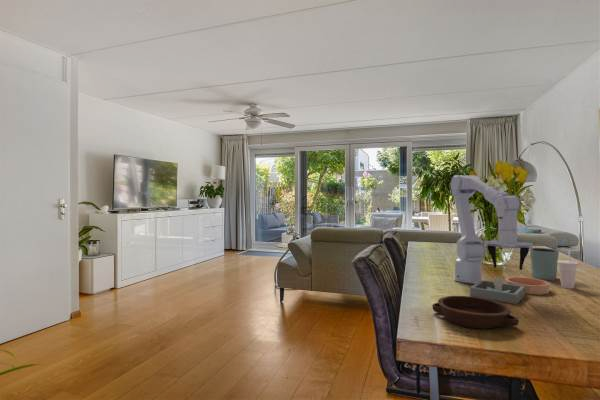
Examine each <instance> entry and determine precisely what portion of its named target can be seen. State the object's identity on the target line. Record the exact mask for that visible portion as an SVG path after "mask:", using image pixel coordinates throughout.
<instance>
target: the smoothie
mask: <svg viewBox="0 0 600 400" xmlns="http://www.w3.org/2000/svg"><path fill="white" fill-rule="evenodd" d="M567 251H568V252H567V254H568V255H567V256H568V257H567V258H568V259H567V260H558V261H557V268H558V273H559V277H560V279H559V280H560V284H561V288H563V287H564V289H568V290H570V289H571V290H573V289H574V288H575V283H576V276H577V271H578V270H577V269H578V266H579V263H578V262H576V261H572V260H571V250H567Z"/></svg>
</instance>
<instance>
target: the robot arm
mask: <svg viewBox="0 0 600 400" xmlns="http://www.w3.org/2000/svg"><path fill="white" fill-rule="evenodd" d="M449 185H450V190H451V195H452V197H453V198H454V204H455V205H454V206H455V209H456V214H457V219H458V224H459V229H460V234H461V237H460V238H459V239H458V240H457V241H456V254H457V256H458V257H459V258H456V260H455V264H454V282H461V283H468V284H472V285H475V284H476V283H478V282H479V281H481V280H484V279H482V261H483V260H484V258H485V257H486V255H487V251H488V253H489V254H490V257H491V260H492V263H493V268H495V269H496V268H497V248H505V249H506V248H509V249H519V267H518V268H519V270H520V271H521V270H523V267H524V262H525V259H526V257H527V256H528V254H529V253H530V249H533V248H534V245H533V243H532V242H523V241H522V242H521V241H518V212H519V211H520V210H521V208H522V200H521V198H520V197H519V196H518V195H517V194H513V195H510V194H509V192H507V191H503V190H501V189H500V187H499V186H498V185H494V186H489V185H488V184H487V183H486V182H484V181H483V180H481V177H480V176H478V175H476V174H472V175H461V174H460V175H459V174H456V175H453V176H452V178H451V181H450V183H449ZM476 191H477V192H479V193H481V194H482V195H483V198H484V199H485V200H486V201H487V202H489V203H490V204H492V205H493V206H494V207H493V208H494V209H495V212H496V216H497V223H498V224H497V225H498V227H497V228H498V230H497V232H498V235H497V237H498V238H497V239H498V240H484V241H483V239H482V238H480V237H479V236H478V235H476V234H477V233H476V229H475V225H474V219H473V216H472V211H471V206H470V202H469V198H470V197H472V196H473V195H474V194H475V192H476ZM486 248H487V249H486Z"/></svg>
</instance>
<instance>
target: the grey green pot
mask: <svg viewBox="0 0 600 400" xmlns="http://www.w3.org/2000/svg"><path fill="white" fill-rule="evenodd" d="M559 252H560V251H559V250H558V249H554V248H546V247H545V248H544V247H533V249H529V253H530V254H529V255H530V265H531V278H535V279H539V280H544V281H546V280H547V281H554V279H555V280H556V279H557V274H558V271H557V270H558V264H557V261H559Z"/></svg>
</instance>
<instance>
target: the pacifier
mask: <svg viewBox="0 0 600 400" xmlns="http://www.w3.org/2000/svg"><path fill="white" fill-rule="evenodd" d="M492 282H493V283H494V285H495V289H492V288H490V287H487V289H488V290H494V291H500V292H507V293H508V292H510V290H508V291H502V285H503V283H504V281H503V279H502V278H501V277H495V278H494V279H493V281H492Z"/></svg>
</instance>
